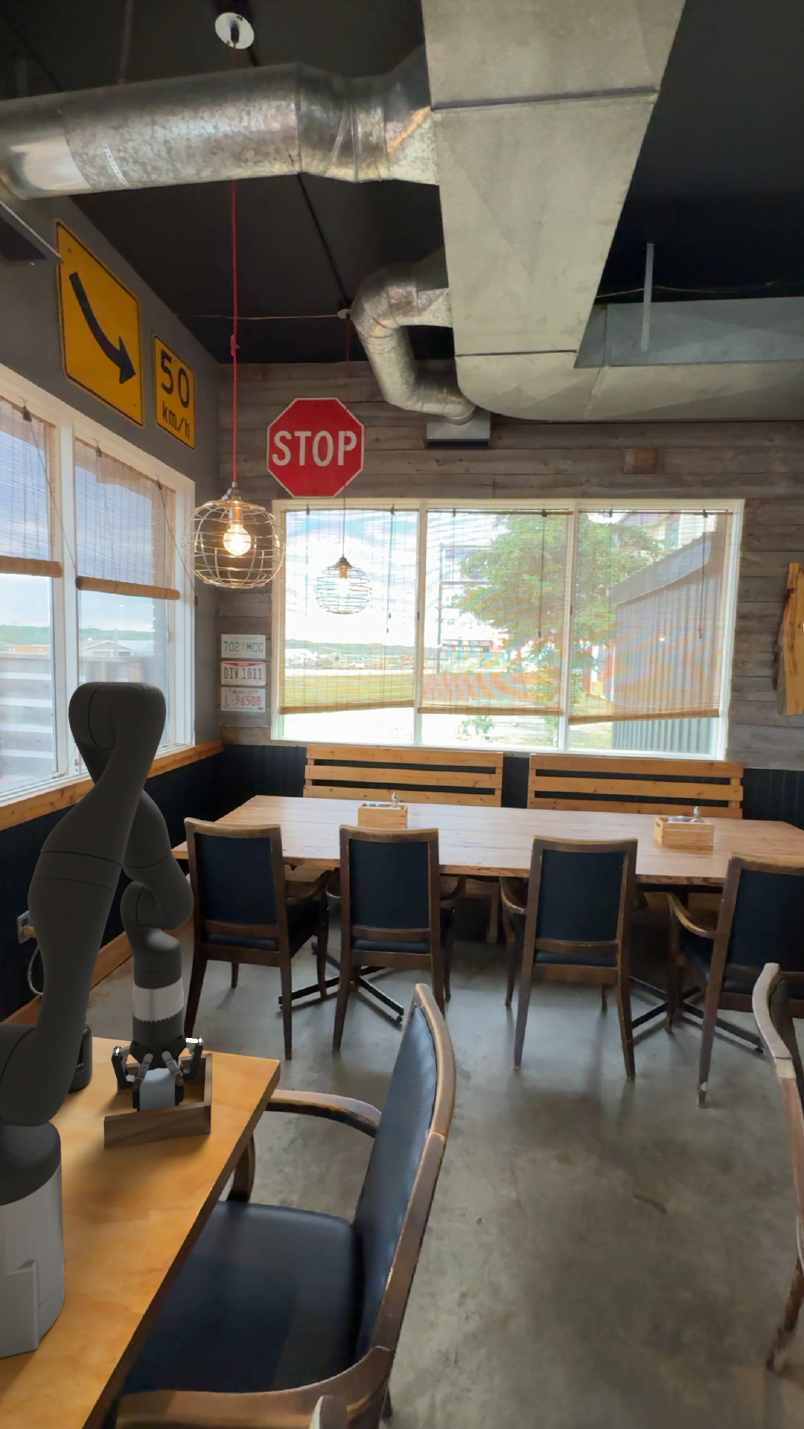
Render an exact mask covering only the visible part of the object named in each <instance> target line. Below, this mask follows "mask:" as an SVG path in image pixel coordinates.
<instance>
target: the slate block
mask: <svg viewBox="0 0 804 1429" xmlns="http://www.w3.org/2000/svg"><path fill="white" fill-rule="evenodd" d="M172 1106H175V1079H174V1078H173V1076H172V1075H171V1074H170V1071H169V1069H168V1068H166V1069H161V1068H157V1069H155V1070H150V1071H148V1070H147V1073H146V1075H145V1078H144V1080H143V1082H142V1083H141V1085H140V1111H145V1110H152V1109H158V1108H165V1107H172Z"/></svg>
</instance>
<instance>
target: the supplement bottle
mask: <svg viewBox="0 0 804 1429" xmlns="http://www.w3.org/2000/svg"><path fill="white" fill-rule="evenodd" d="M93 1037H94V1036H93V1028H92V1027H91V1025H90V1024H89V1023H88V1022H87V1017H86V1018H85V1024H84V1029H83V1035H82V1041H81V1046H80V1051H79V1056H78V1061H77V1065H76V1069H75V1073H74V1076H73V1080H72V1083H71V1086H70V1089H69V1091H68V1094H72V1093H76V1092H78V1091H79V1090H81V1089H83V1088H84V1087H86V1086H87V1085H88V1084H89V1082H90V1081H91V1080H92V1077H93V1066H94V1065H93V1062H94V1060H93V1058H94V1057H93V1052H94V1051H93V1050H94V1049H93V1048H94V1046H93V1043H94V1042H93Z"/></svg>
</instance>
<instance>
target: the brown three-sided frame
mask: <svg viewBox="0 0 804 1429" xmlns="http://www.w3.org/2000/svg"><path fill="white" fill-rule="evenodd" d="M179 1057H180V1059H181V1064H182V1066H183V1068H184V1069H186V1068H188V1067H189V1064H190V1061H191V1057H192V1055H186V1056H179ZM126 1064H127V1067H128V1071H129V1074H130V1075H132V1076H135V1074H136V1071H137V1069H138V1066H139V1063H138V1062H132V1063H126ZM202 1083H204V1094H203V1097H204V1098H203V1101H201V1102H194V1103H188V1104H180V1105H179V1106H172V1107H165V1108H158V1109H152V1110H145V1111H138V1112H137V1111H134V1112H133V1111H132V1112H125V1113H119V1114H113V1115H105V1116H104V1119H103V1150H109V1149H111V1150H112V1149H117V1148H122V1147H129V1146H134V1145H142V1144H146V1143H147V1144H148V1143H155V1142H160V1141H169V1140H172V1139H174V1140H175V1139H179V1138H185V1137H193V1136H197V1135H205V1134H210V1133H212V1108H213V1107H212V1104H213V1102H212V1100H213V1096H212V1095H213V1052H209V1053H202V1055H201V1059H200V1063H199V1067H198V1070H197V1074H196V1078H195V1079H194V1080H192V1081H191V1080H188V1081H186V1082H185V1083H184V1086H189V1085H195V1084H202ZM116 1084H117V1085H116V1088H117V1089H116V1094H117V1095H124V1094H130V1093H132V1090H131V1089H128V1088H126V1089H124V1090H121V1089H120V1088H119V1085H118V1081H117V1080H116Z"/></svg>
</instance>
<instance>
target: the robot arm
mask: <svg viewBox="0 0 804 1429" xmlns="http://www.w3.org/2000/svg"><path fill="white" fill-rule="evenodd" d="M68 704H69V705H68V711H67V712H68V713H67V715H68V723H69V728H70V733H71V735H72V738H73V740H74V743H75V745H76V748H77V750H78V752H79V754H80V757H81V759H82V761H83V762H84V764H85V768H86V770H87V772H88V774H89V776H90V778H91V781H92V782H93V784H94V786H93V787H92V788H91V789H89V791H88V792H87V793H86V794H85V795H84V797H82V798H81V799H80V800H79V801H78V802H77V803H76V804H75V805H74V806H73V807H72V808H71V809H70V810H69V811H68V812H67V813H66V814H65V815H64V816H63V817H62V818H61V819H60V820H59V821H58V822H57V824H56V825H55V826H54V827H53V829H52V830H51V831H50V833H49V834H48V835H47V837H46V839H45V841H44V842H43V845H42V847H41V851H40V853H39V854H40V855H39V856H38V860H37V862H36V865H35V869H34V871H33V872H34V873H33V875H32V878H31V881H30V885H29V887H28V888H29V889H28V893H27V905H28V907H27V908H28V913H29V914H28V915H29V917H30V918H29V919H30V922H31V926H32V929H33V933H34V937H35V939H36V940H35V941H36V942H37V946H38V949H39V952H40V958H41V960H42V967H43V968H42V969H43V988H42V996H41V997H42V998H41V1002H40V1008H39V1013H38V1017H37V1019H36V1024H22V1023H10V1022H0V1359H1V1358H4V1357H6V1358H7V1357H9V1356H10V1357H11V1356H14V1355H18V1354H22V1353H27V1352H32V1351H35V1350H37V1349H38V1348H39V1346H40V1342H41V1340H42V1338H43V1337H44V1335H45V1334H46V1333H47V1332H48V1331H49V1329H50V1328H51V1327H53V1325H54V1324H55V1321H56V1320H57V1319H58V1318H59V1316H60V1314H61V1311H62V1310H63V1306H64V1304H65V1297H66V1296H65V1290H66V1289H65V1288H66V1287H65V1261H64V1260H65V1259H64V1258H65V1257H64V1219H63V1218H64V1216H63V1215H64V1214H63V1212H64V1210H63V1175H62V1174H63V1173H62V1172H63V1170H62V1168H63V1167H62V1142H61V1140H62V1139H61V1135H60V1133H59V1130H58V1128H57V1127H56V1126H55V1125H54V1123H52V1122H51V1121H50V1120H52V1119H53V1118H54V1117H55V1116H56V1114H57V1113H58V1111H59V1110H60V1109H61V1108H62V1106H63V1104H64V1103H65V1100H66V1098H67V1096H68V1094H69V1093H68V1091H69V1089H70V1086H71V1083H72V1080H73V1076H74V1073H75V1069H76V1065H77V1061H78V1056H79V1051H80V1046H81V1041H82V1035H83V1029H84V1024H85V1018H86V1019H87V1013H88V1005H89V1000H90V995H91V990H92V984H93V977H94V972H95V969H96V965H97V964H96V963H97V961H98V955H99V952H100V948H101V944H102V941H103V936H104V934H105V929H106V925H107V922H108V918H109V914H110V911H111V907H112V905H113V901H114V898H115V894H116V891H117V887H118V883H119V880H120V877H121V872H122V870H123V872H124V874H125V875H126V876H127V877H128V878H129V879H131V880H132V882H130V883H129V884H128V885H127V887H126V888H125V890H124V891H123V894H122V897H121V901H120V907H119V908H120V910H119V911H120V917H121V918H120V919H121V922H122V926H123V929H124V931H125V934H126V938H127V941H128V946H129V948H130V950H131V953H132V956H133V985H132V995H131V998H132V1002H131V1004H132V1005H131V1006H132V1007H131V1008H132V1009H131V1010H132V1020H131V1021H132V1022H131V1023H132V1040H131V1042H130V1045H126V1046H123V1047H122V1046H120V1045H116V1046H115V1047H113V1050H112V1054H111V1058H110V1061H111V1064H112V1068H113V1071H114V1074H115V1078H116V1082H117V1081H118V1085H119V1088H120V1089H121V1090H124V1089H126V1088H128V1089H131V1090H132V1092H131V1093H132V1094H131V1095H132V1096H131V1099H132V1108H133V1109H134V1110H136V1112H138V1111H140V1085H141V1083H142V1082H143V1080H144V1078H145V1075H146V1073H147V1070H148V1071H150V1070H155V1069H157V1068H161V1069H166V1068H168V1069H169V1071H170V1074H171V1075H172V1076H173V1078H174V1079H175V1106H179V1105H181V1104H180V1103H183V1102H184V1100H185V1085H184V1083H185V1082H186V1081H188V1080H191V1081H192V1080H194V1079H195V1078H196V1074H197V1070H198V1067H199V1063H200V1059H201V1055H202V1054H203V1050H204V1040H205V1038H204V1037H203V1036H201V1035H199V1036H197V1037H196V1038H188V1036H187V1034H185V1031H184V1029H185V1028H184V1027H185V1024H184V1023H185V1022H184V1021H185V1020H184V1018H185V1017H184V1016H185V1014H184V1013H185V1012H184V1011H185V1010H184V1009H185V1008H184V1007H185V1003H184V1000H185V992H184V983H183V973H182V972H183V971H182V970H183V967H182V966H183V964H182V963H183V961H182V960H183V959H182V958H183V955H182V954H183V952H182V951H183V950H182V944H181V943H180V940H179V939H178V938H175V937H174V936H172V935H169V934H168V933H166V932H164V930H167V931H173V930H174V931H175V930H178V929H180V928H182V927H183V926H185V925H186V924H187V923H188V922H189V920H190V919H191V916H192V915H193V912H194V911H193V910H194V905H195V903H194V901H195V900H194V898H195V897H194V894H193V890H192V886H191V884H190V882H189V880H188V879H187V877H186V875H185V874H184V872H183V870H182V868H181V866H180V864H179V862H178V861H177V860H176V858H175V857H174V854H173V852H172V846H171V841H170V836H169V832H168V828H167V826H168V825H167V823H166V819H165V818H164V815H163V814H162V812H161V809H160V808H159V806H158V805H157V804H156V802H155V800H153V799H152V798H151V796H150V795H149V794H148V793H147V792H146V791H145V790H144V787H145V784H146V782H147V778H148V775H149V773H150V770H151V767H152V765H153V762H154V760H155V757H156V754H157V753H158V752H157V751H158V748H159V746H160V743H161V740H162V737H163V733H164V730H165V723H166V719H167V718H166V717H167V702H166V699H165V696H164V693H163V691H162V690H161V689H160V688H159V687H158V685H155V684H152V683H149V682H141V681H139V682H138V681H132V682H131V681H90V682H89V681H88V682H86V683H83V684H80V685H79V686H78V687H77V688H76V689H75V690H74V692H73V693H72V695H71V697H70V699H69V703H68ZM186 1048H187V1049H188V1054H189V1055H190V1056H192V1057H191V1061H190V1064H189V1067H188V1068H186V1069H184V1068H183V1066H182V1064H181V1059H180V1057H181V1055H182V1053H183V1051H184V1050H185V1049H186ZM129 1055H130V1056H131V1057H132V1058H133V1059H134V1060H135V1061H136V1063H139V1066H138V1069H137V1071H136V1074H135V1076H132V1075H130V1074H129V1071H128V1067H127V1064H128V1063H127V1062H128V1059H129Z"/></svg>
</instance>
